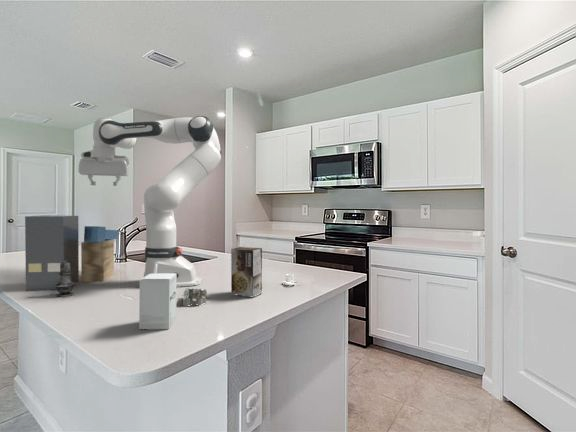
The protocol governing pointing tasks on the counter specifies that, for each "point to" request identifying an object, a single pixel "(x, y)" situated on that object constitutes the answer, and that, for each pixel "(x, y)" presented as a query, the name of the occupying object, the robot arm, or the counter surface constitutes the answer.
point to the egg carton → (194, 296)
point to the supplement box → (157, 301)
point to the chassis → (50, 250)
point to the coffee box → (246, 271)
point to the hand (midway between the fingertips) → (104, 185)
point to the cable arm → (98, 234)
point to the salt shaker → (65, 281)
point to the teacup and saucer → (289, 279)
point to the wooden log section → (97, 260)
